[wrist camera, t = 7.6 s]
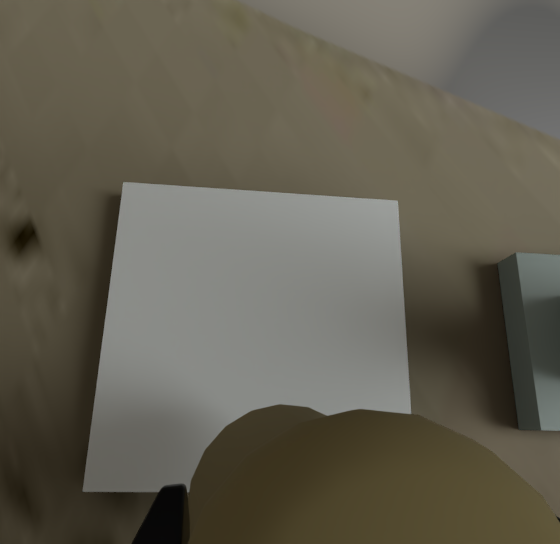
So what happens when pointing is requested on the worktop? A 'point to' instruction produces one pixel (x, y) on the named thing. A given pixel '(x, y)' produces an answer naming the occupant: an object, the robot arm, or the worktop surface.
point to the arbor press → (272, 323)
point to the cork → (358, 484)
